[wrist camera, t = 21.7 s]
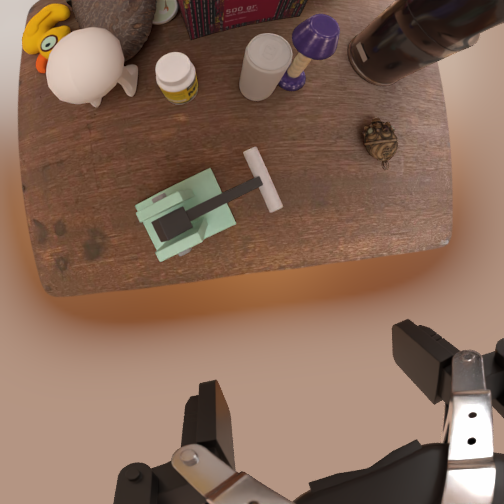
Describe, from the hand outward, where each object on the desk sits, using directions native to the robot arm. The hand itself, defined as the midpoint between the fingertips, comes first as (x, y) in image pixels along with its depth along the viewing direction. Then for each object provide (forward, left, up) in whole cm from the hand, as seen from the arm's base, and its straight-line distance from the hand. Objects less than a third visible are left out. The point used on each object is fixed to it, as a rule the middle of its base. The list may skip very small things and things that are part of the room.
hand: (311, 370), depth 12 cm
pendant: (-21, -9, -30) cm, 38 cm away
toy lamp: (-11, -21, -30) cm, 38 cm away
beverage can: (-6, -21, -30) cm, 37 cm away
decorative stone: (+9, -39, -27) cm, 49 cm away
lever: (+3, -7, -22) cm, 23 cm away
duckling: (+25, -44, -27) cm, 58 cm away
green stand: (+7, -6, -30) cm, 31 cm away
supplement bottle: (+3, -23, -30) cm, 38 cm away
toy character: (+13, -26, -30) cm, 42 cm away
